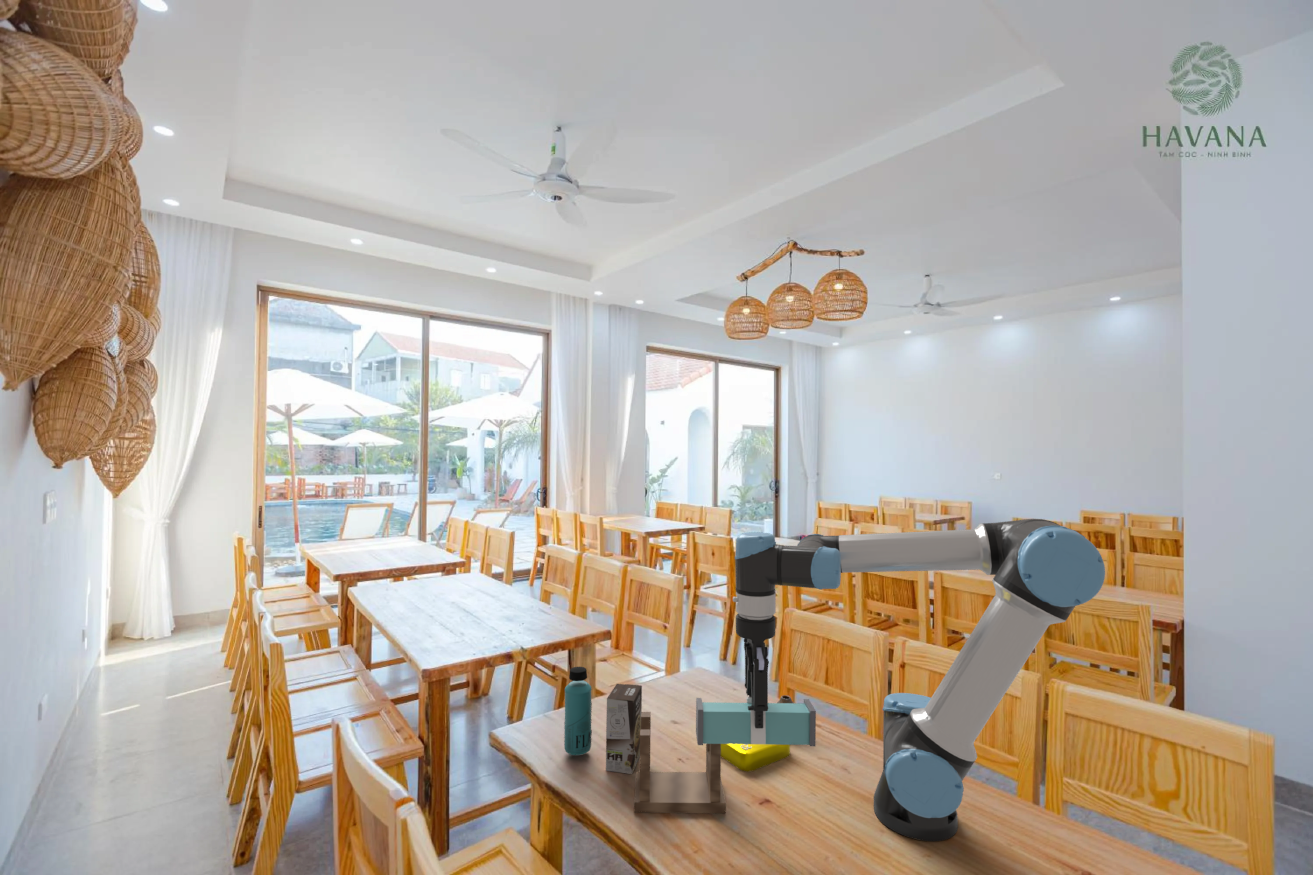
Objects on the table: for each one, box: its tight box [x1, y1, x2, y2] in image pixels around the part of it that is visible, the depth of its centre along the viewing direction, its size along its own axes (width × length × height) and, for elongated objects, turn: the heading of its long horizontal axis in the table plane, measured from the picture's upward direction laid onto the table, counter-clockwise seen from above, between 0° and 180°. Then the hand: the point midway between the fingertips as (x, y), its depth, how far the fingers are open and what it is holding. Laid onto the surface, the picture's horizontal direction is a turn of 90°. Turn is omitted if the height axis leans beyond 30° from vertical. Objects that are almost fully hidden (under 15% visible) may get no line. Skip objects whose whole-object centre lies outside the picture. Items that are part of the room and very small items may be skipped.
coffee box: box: [605, 683, 643, 775], centre depth 137 cm, size 9×6×16 cm
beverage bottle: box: [563, 666, 593, 756], centre depth 140 cm, size 6×7×20 cm
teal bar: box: [695, 697, 817, 747], centre depth 115 cm, size 22×5×7 cm, turn 90°
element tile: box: [721, 744, 791, 772], centre depth 143 cm, size 15×15×5 cm
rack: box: [633, 711, 727, 814], centre depth 124 cm, size 18×11×15 cm, turn 90°
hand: (756, 736), depth 115 cm, fingers closed on teal bar, 4 cm apart
